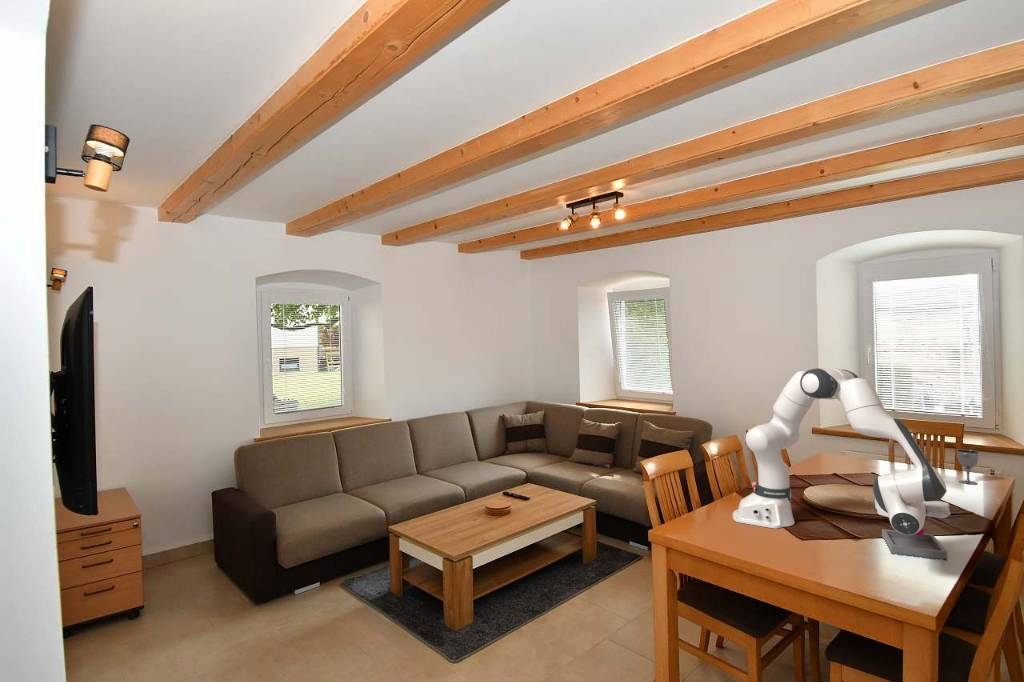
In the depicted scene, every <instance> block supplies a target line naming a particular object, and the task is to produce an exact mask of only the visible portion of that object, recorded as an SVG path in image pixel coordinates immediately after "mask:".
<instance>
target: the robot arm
mask: <svg viewBox="0 0 1024 682" xmlns="http://www.w3.org/2000/svg"><path fill="white" fill-rule="evenodd" d="M816 399H819V400H838V401H839V402H840V403H841V405H842V407H843V410H844V412H845V416H846V417H847V418H846V419H847V421H848V422H849V424H850V427H851V428H852V429H853V430H854V431H855V432H856V433H859V434H860V435H862V436H866V437H873V438H883V439H890V440H893V441H896V442H898V443H899V444H900V446H901V447H902V448H903V450H904V451H905V452H906V455H907V456H908V457H909V459H910V460H911V462H912V463H913V466H914V468H912V469H909V470H904V471H903V470H902V471H897V472H891V473H886V474H881V475H877V476H876V478H875V479H874V481H873V484H872V490H873V492H872V493H873V494H874V508H875V509H876V511H877V514H878V515H879V516H883V517H886V518H888V519H889V523H890V525H891V527H892V528H893V530H895V531H898V532H899V533H902V534H905V535H913V534H916V533H918V532H919V531H920V530H921V529H922V528H923V529H924V526H925V525H924V522H925V521H926V517H932V518H939V519H946V518H947V517H950V516H951V512H950V504H949V503H948V502H945V501H941V500H942V499H943V498H944V496H945V495H946V493H947V492H948V490H947V484H946V482H945V480H944V478H943V477H942V475H941V474H940V473H939V471H937V470H936V469H935V468H934V466H933V465H932V463H931V462H930V460H929V459H928V457H927V456H926V454H925V453H924V451H923V449H922V448H921V446H920V445H919V443H918V442H917V440H916V439H915V438H914V435H913V434H912V433H911V432H910V430H909V429H908V427H907V426H906V425H905V424H904V423H903V421H901V419H899V418H894V417H892V416H891V415H890V414H889V413H888V412H887V411H886V410H885V408H884V405H883V403H882V400H881V398H880V396H879V394H878V393H877V391H876V389H875V387H874V386H873V385H872V384H871V382H870V381H869V380H868V379H865V378H864V377H863V378H862V377H859V376H858V375H857V374H856V373H855V372H853V371H852V370H851V371H850V370H848V369H840V368H833V367H830V368H817V367H815V368H812V369H809V370H799V371H797V372H796V373H795V374H794V375H792V377H791V378H790V379H789V380H788V381H787V383H786V385H784V387H783V389H782V390H781V392H780V393H779V395H778V397H777V399H776V400H775V402H774V404H773V406H772V410H773V416H772V418H771V420H770V421H769V422H768V423H767V422H766V423H763V424H758V425H756V426H754V427H752V428H751V429H749V430H748V431H747V432H746V434H745V443H746V446H747V447H748V448H749V450H751V452H752V453H753V455H754V457H755V460H756V465H757V476H758V483H757V482H756V481H753V482H752V483H751V487H752V492H751V493H750V494H749V495H746V496H745V497H743V498H742V499H741V500H740V502H739V504H738V507H737V508H738V509H736V510H734V511H733V512H732V520H734V521H735V522H736V523H741V524H747V525H752V526H757V527H765V528H770V529H776V530H777V529H780V528H785V527H791V526H793V525H794V524H795V523H796V522H795V519H794V516H793V511H792V505H791V501H792V490H791V486H790V468H789V465H788V464H787V463H786V462H785V461H784V459H783V456H782V455H783V454H782V450H785V449H789V448H791V447H792V446H794V445H795V444H797V443H798V441H799V440H800V435H801V434H800V431H799V429H800V426H801V423H802V421H803V420H804V417H805V416H806V414H807V413H808V412H809V410H810V409H811V407H812V405H813V403H814V402H815V400H816ZM923 525H924V526H923Z"/></svg>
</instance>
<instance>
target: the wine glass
mask: <svg viewBox="0 0 1024 682" xmlns="http://www.w3.org/2000/svg"><path fill="white" fill-rule="evenodd" d="M956 456H957V460H958V462H959V464H960V465H961V466H962V467H963V468H964V470H965V472H966V479H965V480H958V483H960V484H964V485H970V486H975V485H976V486H977V485H979V483H978V482H976V481H973V480H972V481H971V479H970V473H971V472H970V471H971V470H972V469H973V468H974V467H976V466H977V465H978V462H979V459H980V452H979V451H978V450H974V449H967V448H962V449H961V448H959V449H956Z"/></svg>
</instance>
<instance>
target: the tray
mask: <svg viewBox="0 0 1024 682" xmlns="http://www.w3.org/2000/svg"><path fill="white" fill-rule="evenodd" d="M881 537H883V538H882V540H883V539H884V540H885V541H884V540H883V541H884V543H885V542H886V543H885V545H886V544H887V545H886V547H887V546H888V547H887V549H888V548H889V549H888V550H889V552H890V554H891V555H895V554H897V555H898V556H903V555H906V556H905V557H911V556H913V558H920V557H921V559H928V558H929V560H930V559H931V560H936V559H937V561H939V560H940V561H945V562H948V551H946V549H945V548H944V547H943V545H941V543H940V542H939V540H938V539H937V538H936V536H935V535H934V534H931V533H924V534H923V535H905V534H902V533H899V532H898V531H896V530H895V529H884V528H883V529H881ZM897 555H896V556H897Z"/></svg>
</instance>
